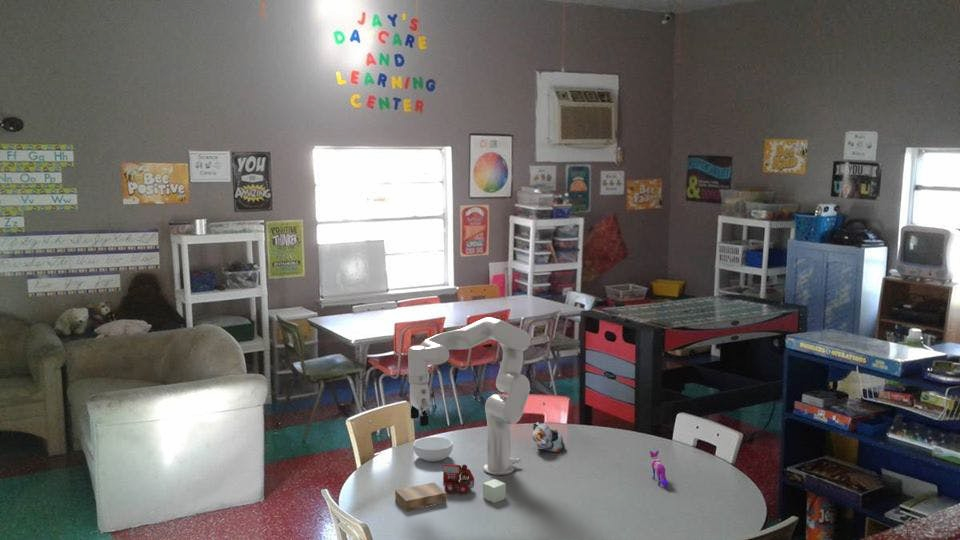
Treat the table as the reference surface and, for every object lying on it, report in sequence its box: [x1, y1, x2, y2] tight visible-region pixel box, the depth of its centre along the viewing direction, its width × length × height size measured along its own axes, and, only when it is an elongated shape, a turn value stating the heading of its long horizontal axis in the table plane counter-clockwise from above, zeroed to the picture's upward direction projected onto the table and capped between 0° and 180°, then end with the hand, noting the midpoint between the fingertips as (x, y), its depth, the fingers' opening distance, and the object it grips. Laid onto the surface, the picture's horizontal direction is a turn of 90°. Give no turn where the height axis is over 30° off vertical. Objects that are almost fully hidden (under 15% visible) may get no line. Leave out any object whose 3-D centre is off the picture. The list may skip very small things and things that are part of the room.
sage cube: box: [482, 478, 507, 504], centre depth 301 cm, size 6×6×6 cm
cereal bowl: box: [412, 436, 454, 463], centre depth 341 cm, size 17×17×7 cm
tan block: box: [394, 482, 447, 512], centre depth 298 cm, size 16×11×4 cm
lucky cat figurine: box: [532, 421, 567, 453], centre depth 352 cm, size 15×12×14 cm
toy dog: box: [649, 450, 669, 488], centre depth 316 cm, size 4×18×10 cm, turn 6°
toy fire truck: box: [441, 463, 475, 495], centre depth 308 cm, size 7×12×10 cm, turn 83°
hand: (419, 421), depth 305 cm, fingers open, 9 cm apart
